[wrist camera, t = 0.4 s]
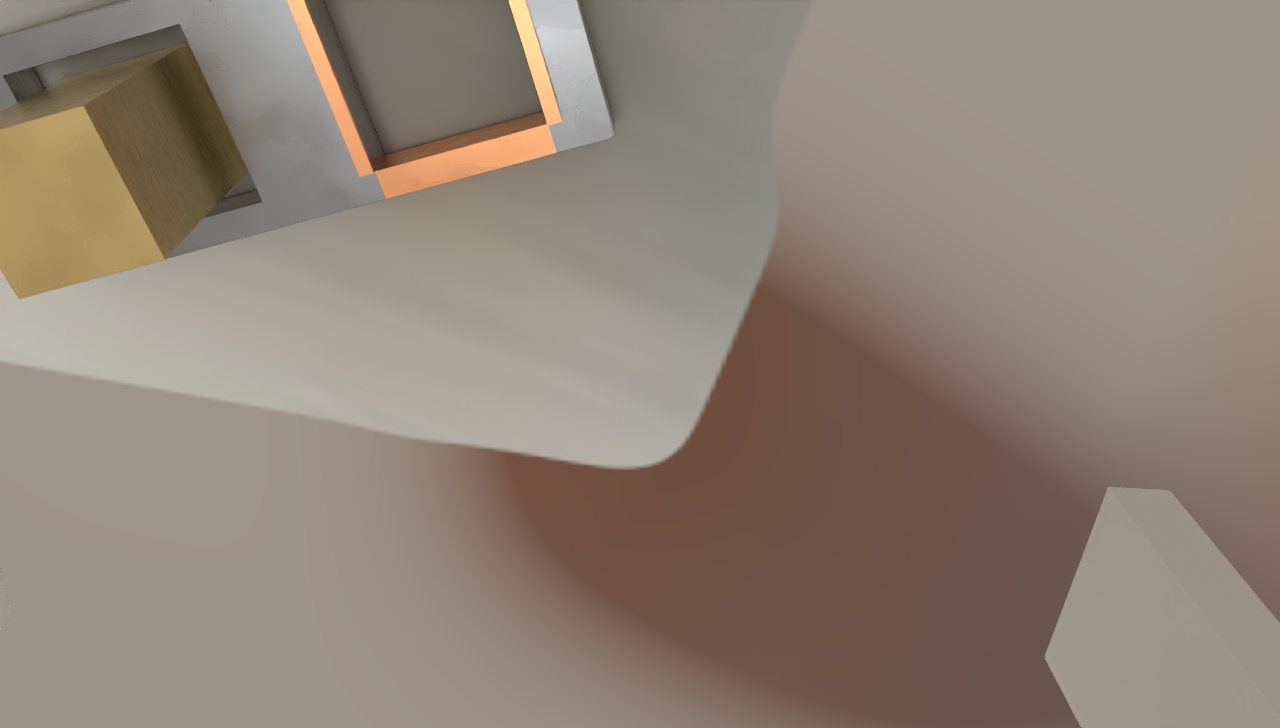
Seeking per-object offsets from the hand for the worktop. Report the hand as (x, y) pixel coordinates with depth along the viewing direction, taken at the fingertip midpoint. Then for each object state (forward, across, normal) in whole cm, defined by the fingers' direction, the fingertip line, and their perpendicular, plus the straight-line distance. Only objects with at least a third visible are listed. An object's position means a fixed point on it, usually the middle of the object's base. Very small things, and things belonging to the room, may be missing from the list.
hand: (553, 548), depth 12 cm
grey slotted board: (+26, -10, -2) cm, 27 cm away
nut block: (+26, -14, -3) cm, 29 cm away
